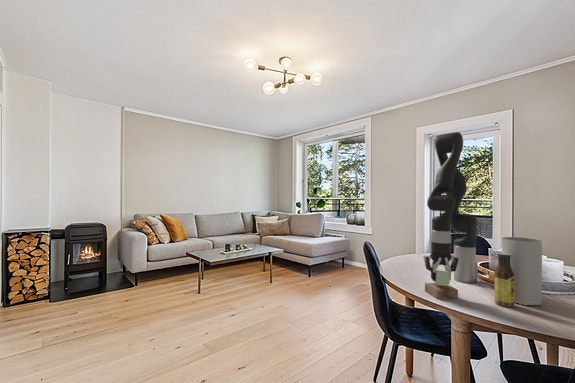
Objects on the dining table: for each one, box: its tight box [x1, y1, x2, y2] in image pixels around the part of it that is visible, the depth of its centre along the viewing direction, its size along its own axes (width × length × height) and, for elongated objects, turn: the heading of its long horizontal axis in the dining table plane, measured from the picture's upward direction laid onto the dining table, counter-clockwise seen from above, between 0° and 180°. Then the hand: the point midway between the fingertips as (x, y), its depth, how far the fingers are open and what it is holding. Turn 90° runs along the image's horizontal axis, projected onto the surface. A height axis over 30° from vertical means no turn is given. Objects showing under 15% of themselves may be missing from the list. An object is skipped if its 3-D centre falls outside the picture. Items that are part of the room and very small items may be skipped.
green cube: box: [431, 268, 451, 285], centre depth 120 cm, size 5×5×5 cm
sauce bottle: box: [494, 252, 515, 308], centre depth 110 cm, size 7×6×20 cm
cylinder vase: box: [501, 236, 543, 306], centre depth 114 cm, size 12×12×25 cm
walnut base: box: [424, 282, 459, 300], centre depth 120 cm, size 9×9×4 cm
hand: (440, 280), depth 120 cm, fingers closed on green cube, 5 cm apart
